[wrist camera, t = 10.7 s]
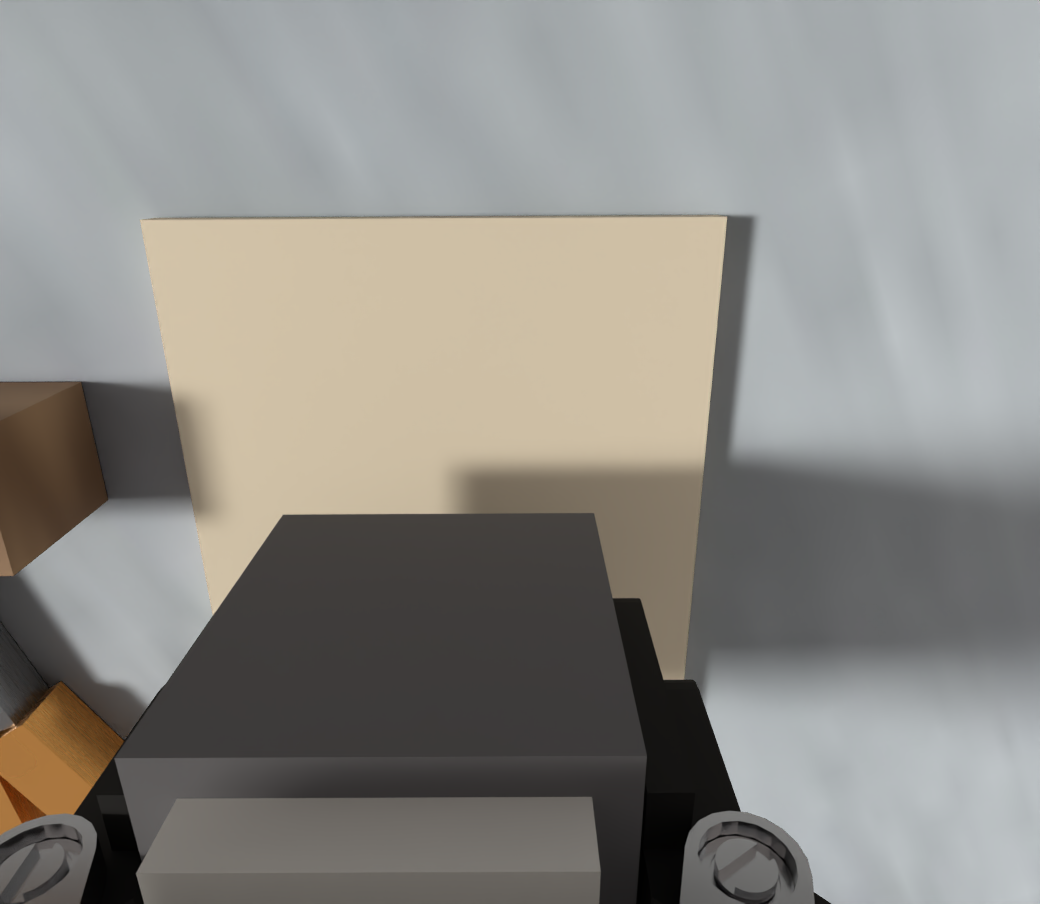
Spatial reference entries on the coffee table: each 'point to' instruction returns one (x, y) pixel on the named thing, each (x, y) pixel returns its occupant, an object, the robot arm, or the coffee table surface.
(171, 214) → the coffee table surface
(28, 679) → the cutter
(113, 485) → the coffee table surface
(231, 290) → the mat
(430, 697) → the grey box
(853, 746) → the coffee table surface
